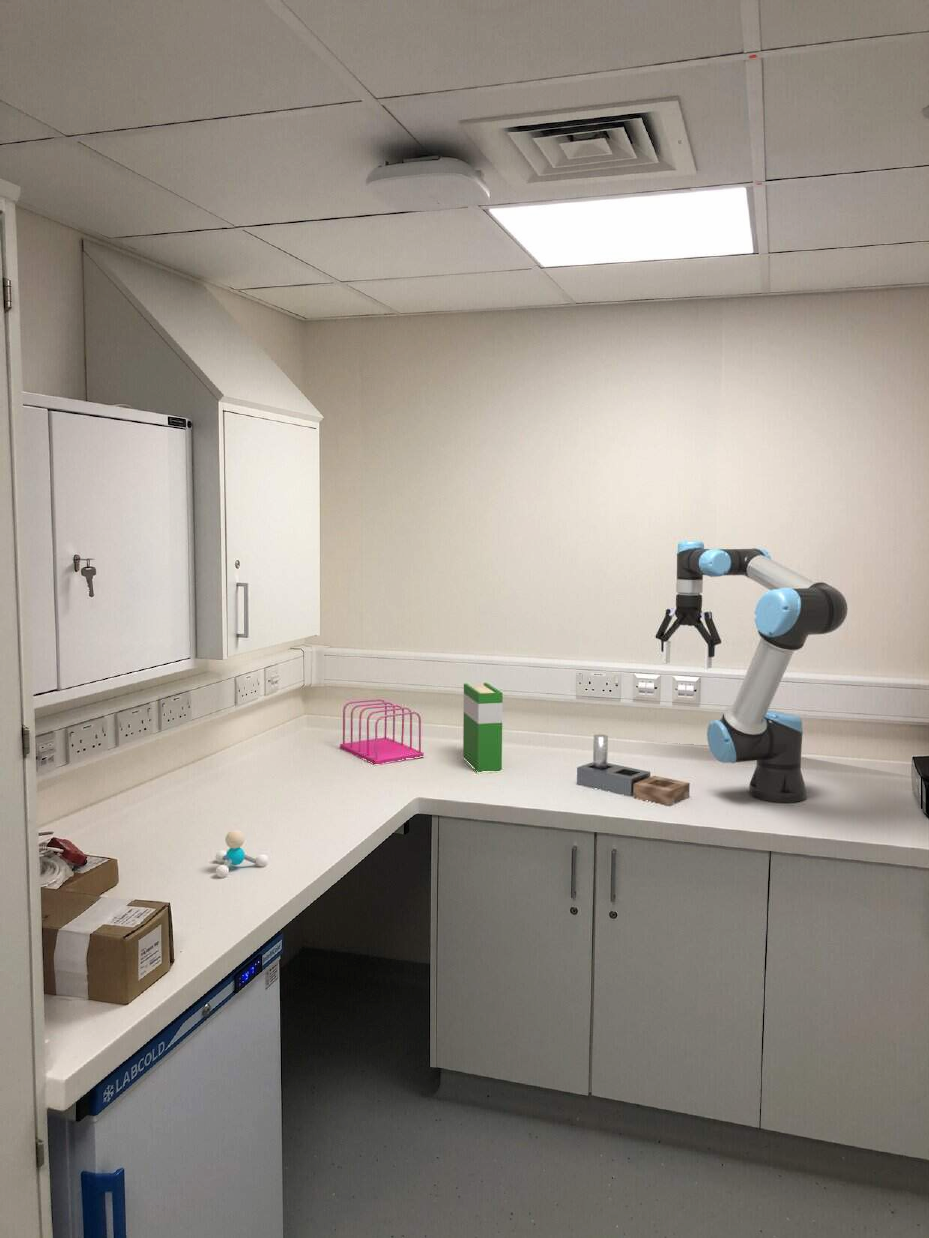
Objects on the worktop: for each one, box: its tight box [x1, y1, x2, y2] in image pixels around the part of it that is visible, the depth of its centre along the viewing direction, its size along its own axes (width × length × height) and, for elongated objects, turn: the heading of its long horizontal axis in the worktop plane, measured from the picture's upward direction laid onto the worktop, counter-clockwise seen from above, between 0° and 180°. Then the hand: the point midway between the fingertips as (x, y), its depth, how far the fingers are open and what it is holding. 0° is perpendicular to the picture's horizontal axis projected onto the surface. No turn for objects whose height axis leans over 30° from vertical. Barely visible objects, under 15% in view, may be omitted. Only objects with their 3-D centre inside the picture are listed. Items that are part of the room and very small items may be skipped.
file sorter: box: [339, 699, 425, 765], centre depth 312 cm, size 17×25×16 cm
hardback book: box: [462, 682, 504, 772], centre depth 298 cm, size 18×7×24 cm, turn 14°
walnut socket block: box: [632, 775, 691, 807], centre depth 266 cm, size 11×11×4 cm
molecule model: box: [215, 829, 269, 879], centre depth 212 cm, size 12×12×9 cm
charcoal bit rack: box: [576, 761, 651, 798], centre depth 276 cm, size 18×10×5 cm, turn 49°
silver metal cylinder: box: [592, 734, 609, 770], centre depth 279 cm, size 4×4×14 cm
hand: (686, 665), depth 287 cm, fingers open, 13 cm apart
